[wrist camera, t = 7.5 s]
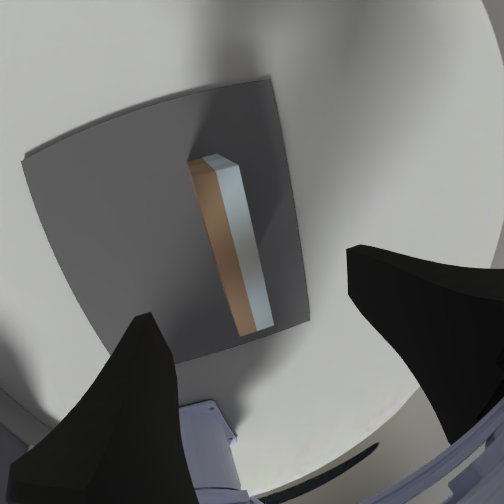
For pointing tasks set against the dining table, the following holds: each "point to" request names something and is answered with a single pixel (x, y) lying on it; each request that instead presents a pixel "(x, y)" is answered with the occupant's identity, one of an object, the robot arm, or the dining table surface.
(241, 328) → the tile
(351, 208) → the dining table surface
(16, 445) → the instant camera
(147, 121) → the mat
